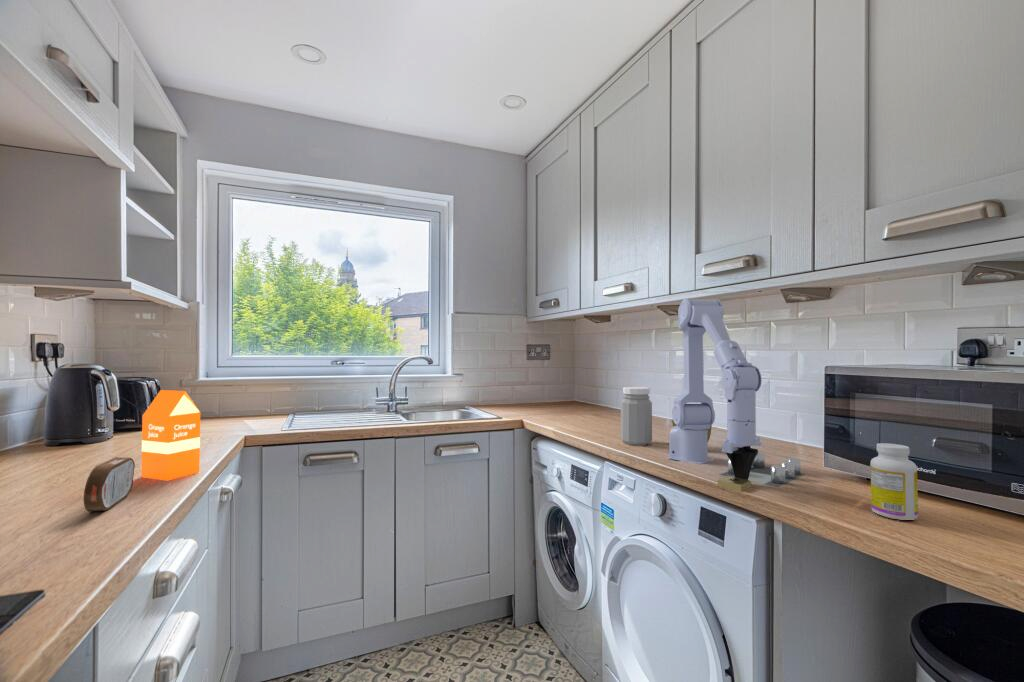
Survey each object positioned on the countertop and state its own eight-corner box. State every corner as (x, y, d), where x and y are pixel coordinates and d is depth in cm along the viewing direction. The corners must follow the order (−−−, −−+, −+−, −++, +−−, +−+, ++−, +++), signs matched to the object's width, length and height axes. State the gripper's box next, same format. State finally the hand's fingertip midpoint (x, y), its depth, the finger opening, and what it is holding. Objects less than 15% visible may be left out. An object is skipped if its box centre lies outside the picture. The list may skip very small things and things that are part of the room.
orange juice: (167, 480, 104) (168, 392, 105) (140, 477, 107) (142, 391, 108) (200, 472, 112) (201, 389, 112) (174, 469, 115) (176, 388, 115)
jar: (615, 441, 153) (615, 386, 153) (640, 439, 156) (640, 386, 156) (631, 447, 143) (631, 389, 144) (658, 445, 146) (658, 388, 147)
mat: (719, 476, 110) (719, 474, 110) (749, 465, 121) (749, 463, 121) (777, 488, 100) (777, 487, 100) (805, 475, 111) (805, 473, 111)
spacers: (724, 472, 112) (724, 458, 112) (749, 463, 121) (749, 450, 121) (782, 484, 102) (782, 469, 102) (805, 474, 111) (805, 459, 111)
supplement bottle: (897, 509, 88) (896, 441, 88) (928, 522, 81) (927, 449, 81) (861, 509, 88) (861, 441, 88) (890, 522, 81) (889, 449, 81)
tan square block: (717, 489, 101) (717, 479, 101) (728, 485, 104) (728, 475, 104) (740, 495, 97) (740, 484, 97) (751, 490, 101) (751, 480, 101)
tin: (118, 493, 95) (119, 452, 95) (137, 492, 96) (138, 451, 96) (80, 519, 81) (81, 470, 81) (102, 516, 82) (103, 469, 82)
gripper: (745, 425, 95) (745, 491, 95) (773, 419, 105) (773, 479, 105) (712, 421, 101) (712, 483, 101) (741, 415, 110) (742, 472, 110)
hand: (741, 480), depth 103 cm, fingers closed
